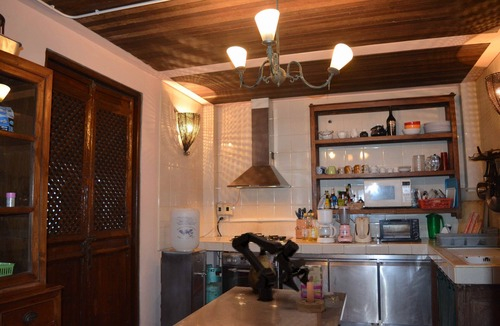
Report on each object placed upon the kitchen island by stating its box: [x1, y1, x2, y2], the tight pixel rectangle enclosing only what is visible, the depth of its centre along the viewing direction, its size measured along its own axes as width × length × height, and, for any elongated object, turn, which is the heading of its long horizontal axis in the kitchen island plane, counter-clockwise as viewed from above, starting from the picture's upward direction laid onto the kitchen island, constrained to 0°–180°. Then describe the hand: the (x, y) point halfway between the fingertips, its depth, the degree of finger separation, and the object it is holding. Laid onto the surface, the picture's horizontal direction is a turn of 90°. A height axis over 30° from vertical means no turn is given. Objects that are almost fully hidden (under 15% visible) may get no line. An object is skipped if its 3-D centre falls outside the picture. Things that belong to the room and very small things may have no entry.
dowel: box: [307, 282, 314, 303], centre depth 183 cm, size 3×3×12 cm
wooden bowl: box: [295, 298, 326, 314], centre depth 183 cm, size 12×12×4 cm
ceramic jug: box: [247, 236, 277, 295], centre depth 221 cm, size 17×15×30 cm
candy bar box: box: [299, 264, 324, 300], centre depth 206 cm, size 11×5×16 cm, turn 73°
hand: (304, 289), depth 186 cm, fingers open, 9 cm apart
